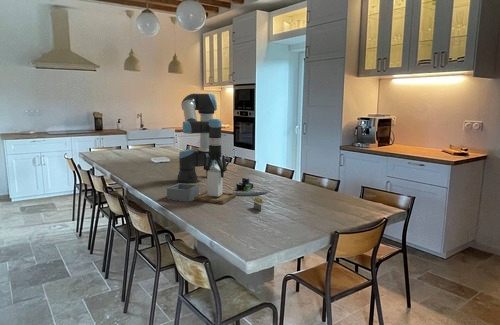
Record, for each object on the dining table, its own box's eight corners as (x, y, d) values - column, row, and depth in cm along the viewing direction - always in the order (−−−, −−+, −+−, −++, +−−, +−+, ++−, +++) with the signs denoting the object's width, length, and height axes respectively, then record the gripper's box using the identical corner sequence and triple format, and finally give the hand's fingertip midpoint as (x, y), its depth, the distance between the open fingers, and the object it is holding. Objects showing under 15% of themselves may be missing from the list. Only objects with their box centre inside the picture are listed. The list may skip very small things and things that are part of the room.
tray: (193, 200, 214) (193, 197, 214) (207, 193, 230) (207, 190, 230) (223, 204, 207) (223, 200, 207) (235, 196, 223) (235, 193, 223)
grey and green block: (259, 204, 209) (260, 193, 208) (276, 212, 194) (276, 201, 193) (241, 206, 204) (241, 195, 203) (257, 215, 188) (257, 204, 187)
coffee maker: (209, 176, 281) (209, 154, 278) (214, 174, 289) (214, 152, 286) (226, 178, 276) (226, 155, 273) (231, 176, 284) (231, 154, 281)
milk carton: (222, 194, 220) (222, 163, 217) (217, 196, 214) (218, 165, 211) (212, 192, 223) (212, 163, 219) (207, 195, 216) (207, 164, 213)
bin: (167, 199, 216) (166, 187, 215) (179, 193, 229) (179, 183, 228) (187, 201, 211) (187, 190, 210) (198, 196, 224) (198, 185, 223)
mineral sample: (274, 186, 254) (274, 173, 253) (263, 198, 221) (262, 183, 220) (229, 185, 264) (228, 173, 263) (211, 196, 231) (210, 183, 229)
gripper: (197, 144, 213) (197, 181, 217) (227, 146, 206) (227, 184, 210) (203, 143, 220) (203, 179, 224) (232, 145, 213) (232, 182, 217)
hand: (215, 181), depth 217 cm, fingers closed on milk carton, 7 cm apart
